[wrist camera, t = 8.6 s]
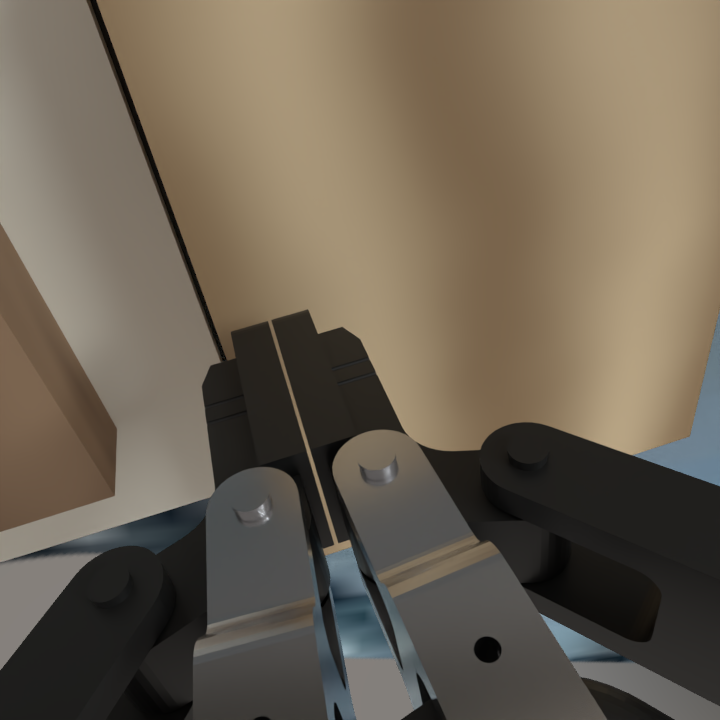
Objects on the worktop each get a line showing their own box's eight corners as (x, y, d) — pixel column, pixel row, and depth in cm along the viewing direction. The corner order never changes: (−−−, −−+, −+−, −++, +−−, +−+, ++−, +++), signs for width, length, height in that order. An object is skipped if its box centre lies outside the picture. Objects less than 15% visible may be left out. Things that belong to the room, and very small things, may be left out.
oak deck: (690, -280, 13) (868, -325, 10) (614, 358, 23) (689, 436, 20) (62, -160, 11) (36, -168, 8) (276, 462, 21) (300, 563, 18)
